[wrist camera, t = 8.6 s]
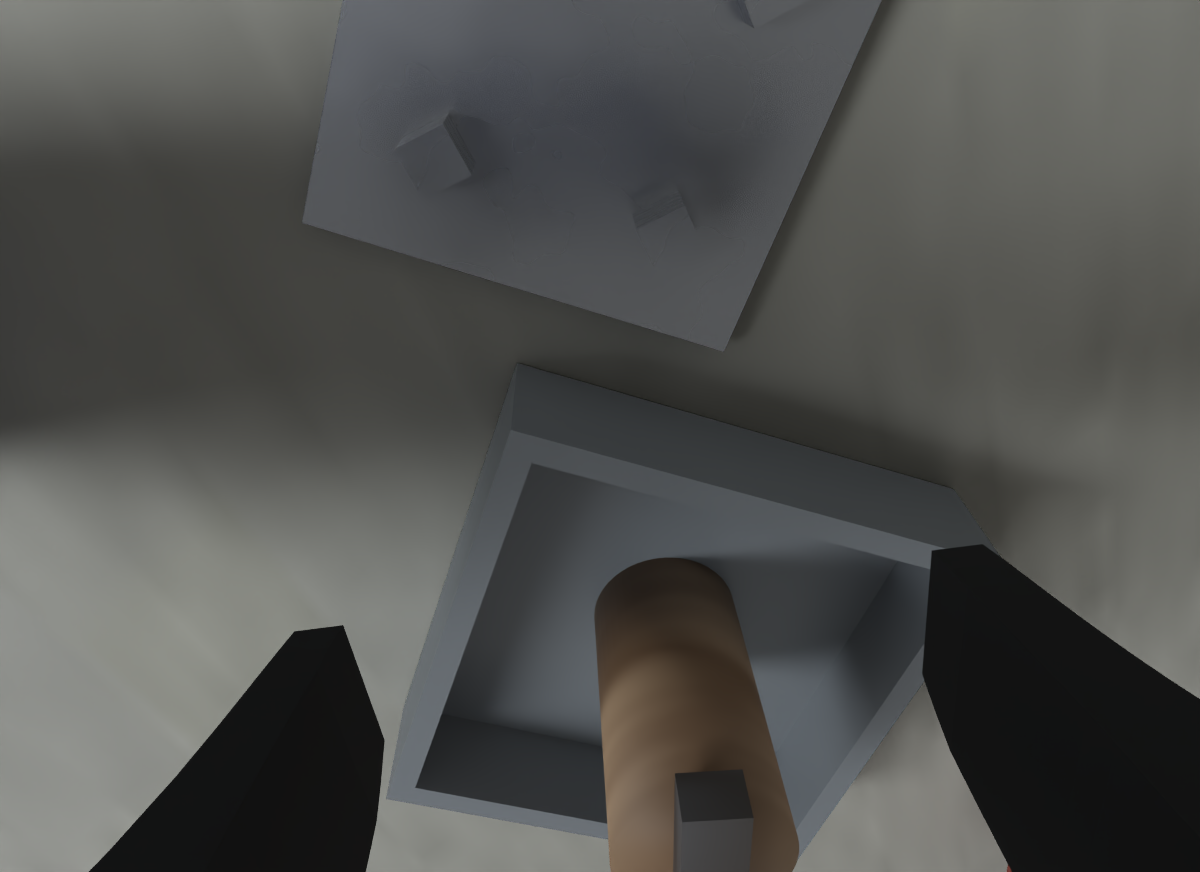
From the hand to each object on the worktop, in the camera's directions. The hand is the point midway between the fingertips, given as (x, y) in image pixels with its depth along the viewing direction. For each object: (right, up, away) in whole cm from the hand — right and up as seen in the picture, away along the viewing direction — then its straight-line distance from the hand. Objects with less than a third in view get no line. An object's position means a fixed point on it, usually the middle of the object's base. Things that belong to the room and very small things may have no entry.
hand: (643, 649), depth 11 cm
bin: (+1, -2, +13) cm, 13 cm away
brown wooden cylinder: (+1, -2, +12) cm, 12 cm away
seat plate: (-1, +10, +6) cm, 11 cm away
